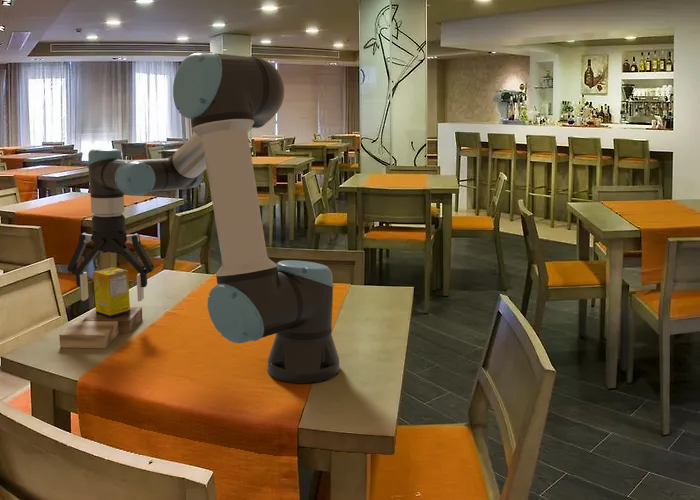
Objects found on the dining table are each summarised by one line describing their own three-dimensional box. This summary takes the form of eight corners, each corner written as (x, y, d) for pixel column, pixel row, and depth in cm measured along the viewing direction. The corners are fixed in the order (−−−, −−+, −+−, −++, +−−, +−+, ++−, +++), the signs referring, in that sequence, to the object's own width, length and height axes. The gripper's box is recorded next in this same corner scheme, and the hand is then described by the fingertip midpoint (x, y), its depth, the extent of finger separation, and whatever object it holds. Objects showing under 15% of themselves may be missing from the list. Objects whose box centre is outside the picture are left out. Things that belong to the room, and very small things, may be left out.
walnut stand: (129, 332, 161) (129, 320, 161) (83, 332, 161) (82, 320, 160) (142, 318, 172) (141, 307, 172) (99, 317, 172) (98, 306, 171)
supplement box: (115, 308, 170) (113, 266, 168) (130, 313, 167) (128, 270, 164) (94, 314, 165) (92, 270, 163) (110, 318, 162) (107, 274, 160)
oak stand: (105, 348, 151) (104, 335, 151) (60, 347, 151) (59, 334, 150) (118, 333, 161) (118, 321, 160) (76, 332, 161) (75, 320, 160)
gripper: (164, 212, 165) (167, 295, 169) (61, 210, 164) (67, 294, 168) (156, 217, 157) (160, 304, 162) (48, 215, 157) (55, 303, 161)
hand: (113, 299), depth 165 cm, fingers open, 13 cm apart
